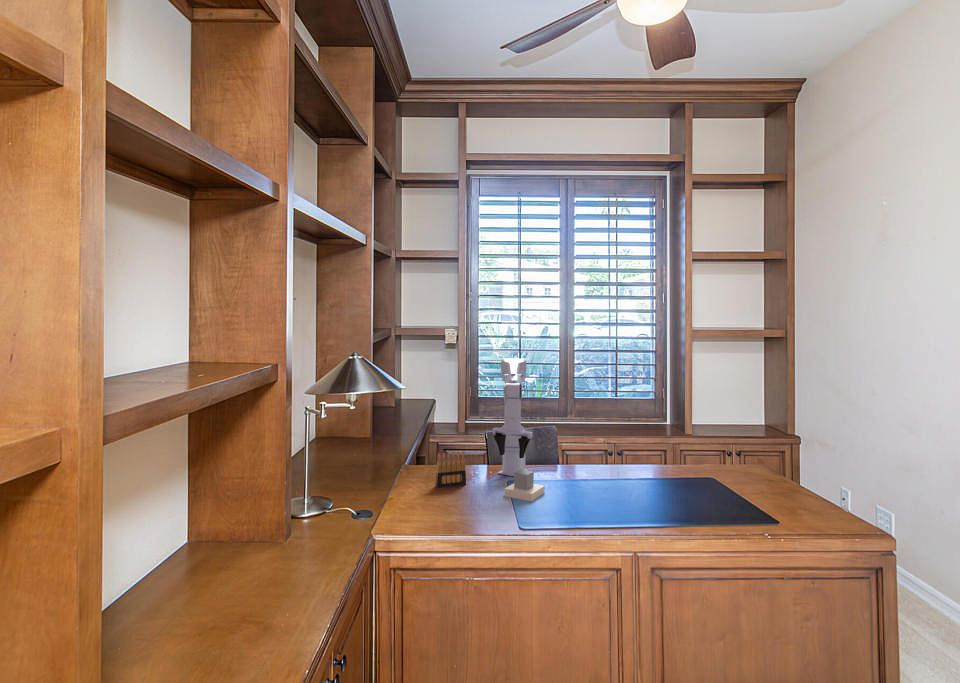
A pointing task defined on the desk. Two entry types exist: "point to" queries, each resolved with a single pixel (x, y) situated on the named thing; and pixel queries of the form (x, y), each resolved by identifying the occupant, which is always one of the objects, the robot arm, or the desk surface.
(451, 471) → the ammunition clip
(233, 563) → the desk surface
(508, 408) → the robot arm
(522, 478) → the grey cube
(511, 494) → the cream block
